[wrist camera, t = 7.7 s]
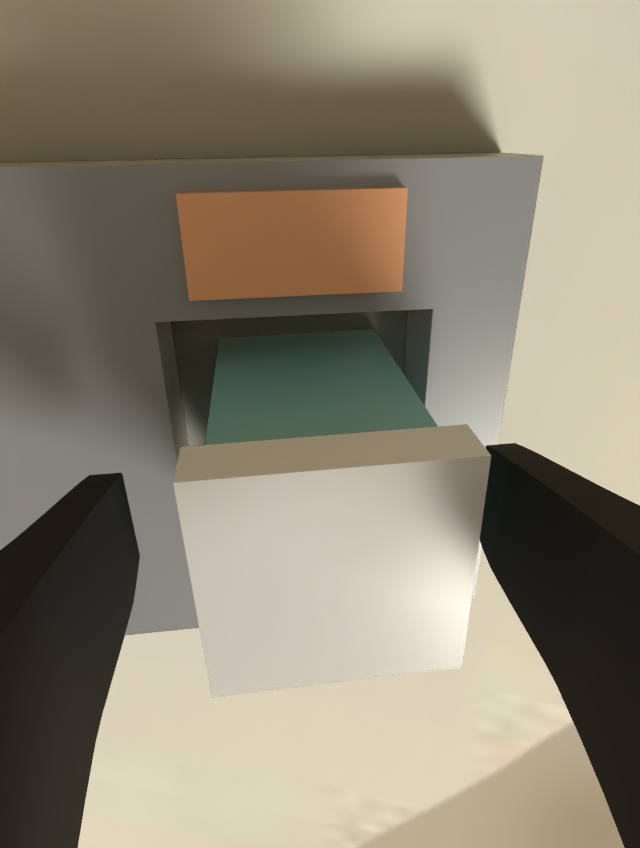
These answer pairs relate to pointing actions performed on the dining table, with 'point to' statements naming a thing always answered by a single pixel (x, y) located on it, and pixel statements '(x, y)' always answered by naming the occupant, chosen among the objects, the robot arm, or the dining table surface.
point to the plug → (327, 517)
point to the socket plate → (233, 307)
